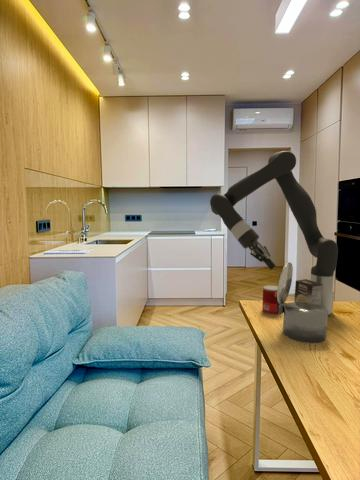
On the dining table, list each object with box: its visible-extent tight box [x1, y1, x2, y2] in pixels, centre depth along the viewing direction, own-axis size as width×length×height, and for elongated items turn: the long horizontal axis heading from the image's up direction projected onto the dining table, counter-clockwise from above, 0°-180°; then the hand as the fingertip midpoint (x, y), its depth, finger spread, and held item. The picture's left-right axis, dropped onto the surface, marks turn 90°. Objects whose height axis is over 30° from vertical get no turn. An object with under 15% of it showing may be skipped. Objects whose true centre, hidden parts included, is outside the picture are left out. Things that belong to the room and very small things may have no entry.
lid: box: [274, 261, 294, 304], centre depth 124 cm, size 16×16×3 cm
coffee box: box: [293, 278, 322, 306], centre depth 136 cm, size 9×6×16 cm
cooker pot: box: [278, 301, 329, 344], centre depth 121 cm, size 17×15×10 cm
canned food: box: [261, 284, 281, 315], centre depth 146 cm, size 8×8×11 cm
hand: (273, 267), depth 125 cm, fingers closed
